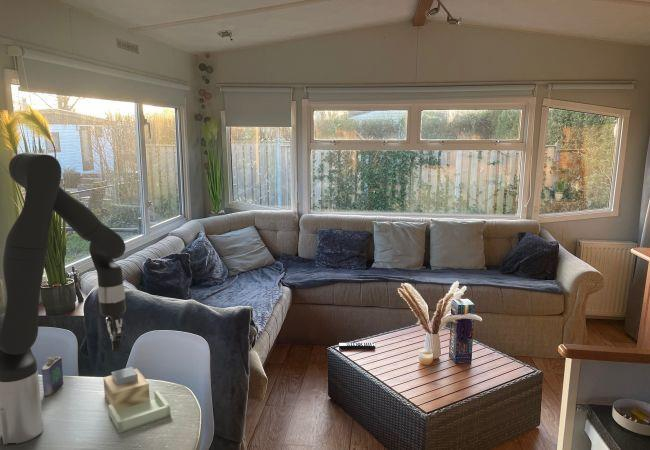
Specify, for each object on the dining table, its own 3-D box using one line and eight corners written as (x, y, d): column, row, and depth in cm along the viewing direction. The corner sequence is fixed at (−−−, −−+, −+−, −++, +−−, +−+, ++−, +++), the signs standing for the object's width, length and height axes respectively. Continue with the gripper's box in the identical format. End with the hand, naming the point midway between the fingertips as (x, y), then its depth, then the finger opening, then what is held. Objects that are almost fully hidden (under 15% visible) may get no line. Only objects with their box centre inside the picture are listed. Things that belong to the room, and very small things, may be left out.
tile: (116, 386, 140) (116, 379, 140) (111, 378, 145) (111, 372, 144) (137, 380, 143) (137, 374, 143) (132, 372, 148) (131, 366, 148)
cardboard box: (114, 413, 137) (113, 393, 136) (104, 395, 146) (103, 377, 145) (149, 401, 143) (148, 383, 142) (138, 385, 152) (137, 368, 151)
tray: (119, 433, 127) (118, 423, 127) (109, 414, 136) (108, 405, 135) (170, 415, 135) (170, 406, 135) (158, 399, 144) (157, 390, 144)
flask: (50, 396, 145) (47, 363, 144) (40, 396, 145) (37, 363, 143) (65, 381, 154) (62, 350, 153) (56, 381, 154) (53, 350, 153)
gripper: (94, 294, 150) (99, 346, 153) (104, 306, 140) (109, 361, 143) (119, 290, 155) (123, 340, 158) (130, 301, 144) (134, 354, 147)
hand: (116, 349), depth 150 cm, fingers closed
